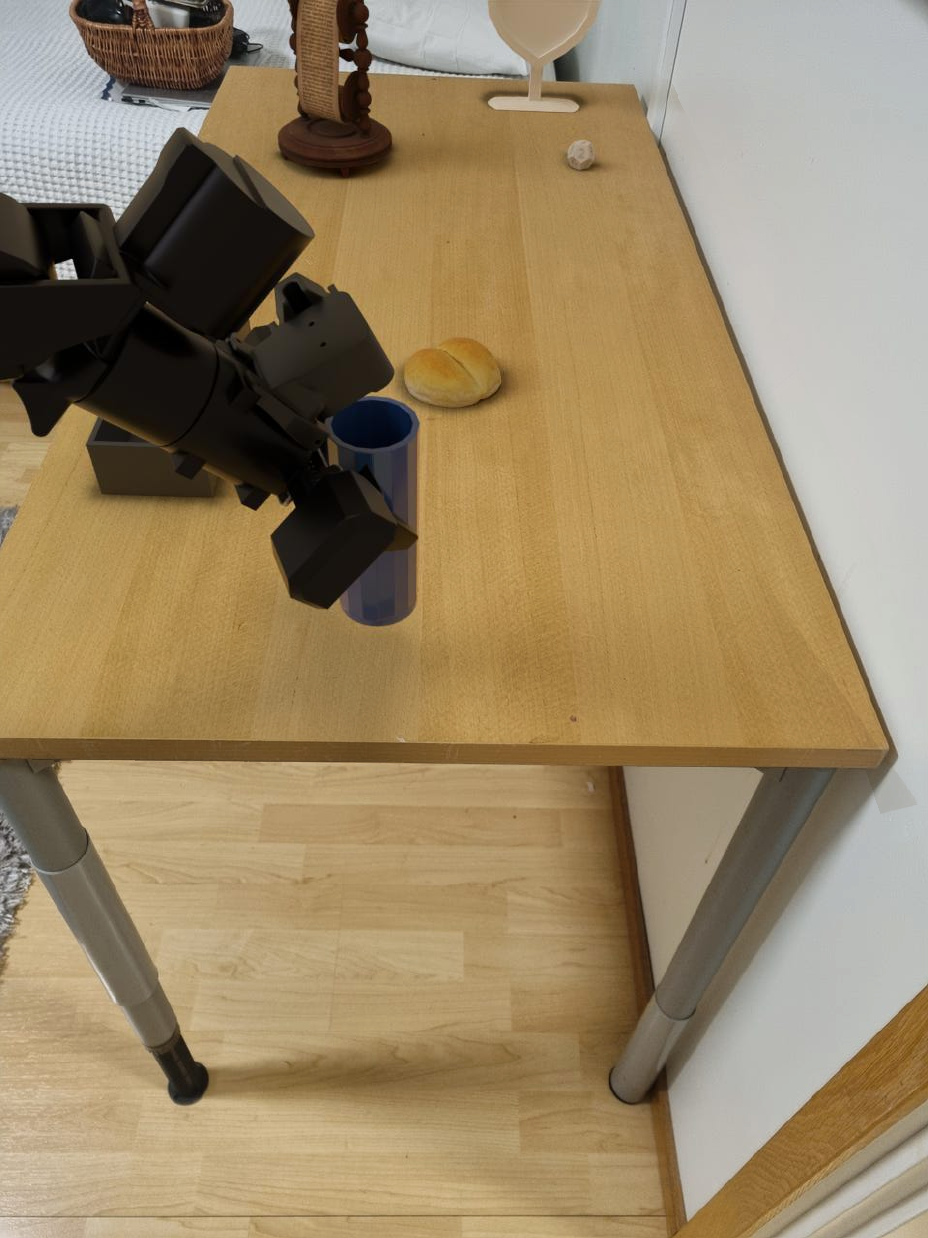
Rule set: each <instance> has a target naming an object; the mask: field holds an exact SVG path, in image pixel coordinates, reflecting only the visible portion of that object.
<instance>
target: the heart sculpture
mask: <svg viewBox="0 0 928 1238" xmlns="http://www.w3.org/2000/svg"><path fill="white" fill-rule="evenodd" d="M601 2H602V0H487V7H488V16H489V19H490V21H491V24H492V25H493V27H494V29H495V31H496V33H497V35H498V37H499V38H500V39H501V40H502V41H503V42H504V44H506V45H507V46H508V47H509V48H510V50H511V51H512V52H513V53H515V54H516V55H518V56H519V57H520V58H522V59H523V60H524V61H525V62H527V63H528V64H530V68H529V84H528V94H527V96H494V97H492V98H490V99H489V100H488V101H487V104H488V105H489V107H491V108H492V109H494V110H496V111H521V112H522V111H524V112H546V113H548V112H551V113H575V112H577V111H578V110H579V109H580V105H579V104H578V103H576V102H575V101H574V100H572V99H568V98H567V99H566V98H553V97H542V87H543V85H542V84H543V76H544V67H545V66H547V65H548V64H550V63H552V62H553V61H555V60H556V59H558V58H560V57H562V56H564V55H566V54H567V53H569V51H570V50H572V49H573V48H574V47H576V45H578V44H579V43H580V42H581V41H583V40H584V38H585V37H586V35H587V34H588V32H589V31H590V29H591V28H592V26H593V25H594V24H595V22H596V20H597V17H598V13H599V9H600V6H601Z"/></svg>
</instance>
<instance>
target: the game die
mask: <svg viewBox="0 0 928 1238" xmlns="http://www.w3.org/2000/svg"><path fill="white" fill-rule="evenodd" d="M595 157H596V150H595V148H594V146H593V143H592V142H590V141H588V140H586V139H579V140H575V141H573V143H571V145H570V147H568V149H567V160H568V163H569V165H570V167H571V168H572V169H575V170H577V171H583V170H587V169H589V168H590V167H591V165H592V164H593V163H594V161H595Z"/></svg>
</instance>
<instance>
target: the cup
mask: <svg viewBox="0 0 928 1238" xmlns="http://www.w3.org/2000/svg"><path fill="white" fill-rule="evenodd" d="M324 424H325V425H326V427H327V429H328V431H329V433H330V436H329V437H328V439H327V440H326V441H325V447H326V459H327V463H328V465H329V466H331V465H333V464H337V465H339V466H341V467H342V468H343V469H344V470H348V469H351V470H353V471H354V472H356V473H358V472H359V471H360V470H361V469H362V468H363V467H364V466H365V464H368V465H369V467H370V469H371V471H372V473H373V475H374V477H375V479H376V480H377V482H378V484H379V486H380V488H381V490H382V492H383V495H384V500H385V502H386V504H387V506H388V508H389V510H390V511H392V512H393V513H394V514H395V515H396V516H398V517H399V518H400V519H401V520H403V521H404V522H405V523H406V524H407V525H408V526H409V527H410V528H412V529H413V530H414V531H415V532H416V533H417V535H418V540H417V541H416V542H415V543H414V544H413V545H412V546H411V547H410V548H409V549H407V550H399V551H390V552H383V553H382V554H381V555H380V556H379V557H378V558H377V559H376V560H375V561H374V562H373V563H372V564H371V565H370V566H369V567H368V568H367V569H366V570H365V571H364V573H363V574H362V575H361V576H360V577H359V578H358V579H357V580H356V581H355V582H354V583H353V584H352V585H351V586H350V587H349V588H348V589H347V590H346V591H345V592H344V593H343V594H342V595H341V596H340V597H339V598H338V602H339V606H340V609H341V610H342V612H343V613H344V614H345V616H347V617H348V618H349V619H351V620H352V621H353V622H356V623H358V624H359V625H363V626H366V627H367V626H368V627H377V628H379V627H381V628H382V627H388V626H393V625H395V624H398V623H400V622H402V621H404V620H405V619H407V618H408V617H409V616H410V615H411V614H413V612H414V610H415V608H416V606H417V605H418V599H419V590H420V589H419V588H420V587H419V583H420V582H419V576H420V575H419V574H420V573H419V572H420V472H421V471H420V467H421V466H420V465H421V464H420V463H421V462H420V459H421V458H420V456H421V455H420V453H421V452H420V451H421V422H420V420H419V418H418V415H417V413H416V411H414V410H413V409H412V408H411V407H410V406H408V405H407V403H404V402H403V401H400V400H396V399H394V398H391V397H387V396H377V395H366V396H364V397H363V398H361V399H360V400H358V401H356V402H355V403H353V404H352V405H350V406H348V407H347V408H345V409H343V410H342V411H340V412H339V413H337V414H335V415H334V416H332V417H330V418H326V419H325V422H324Z"/></svg>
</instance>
